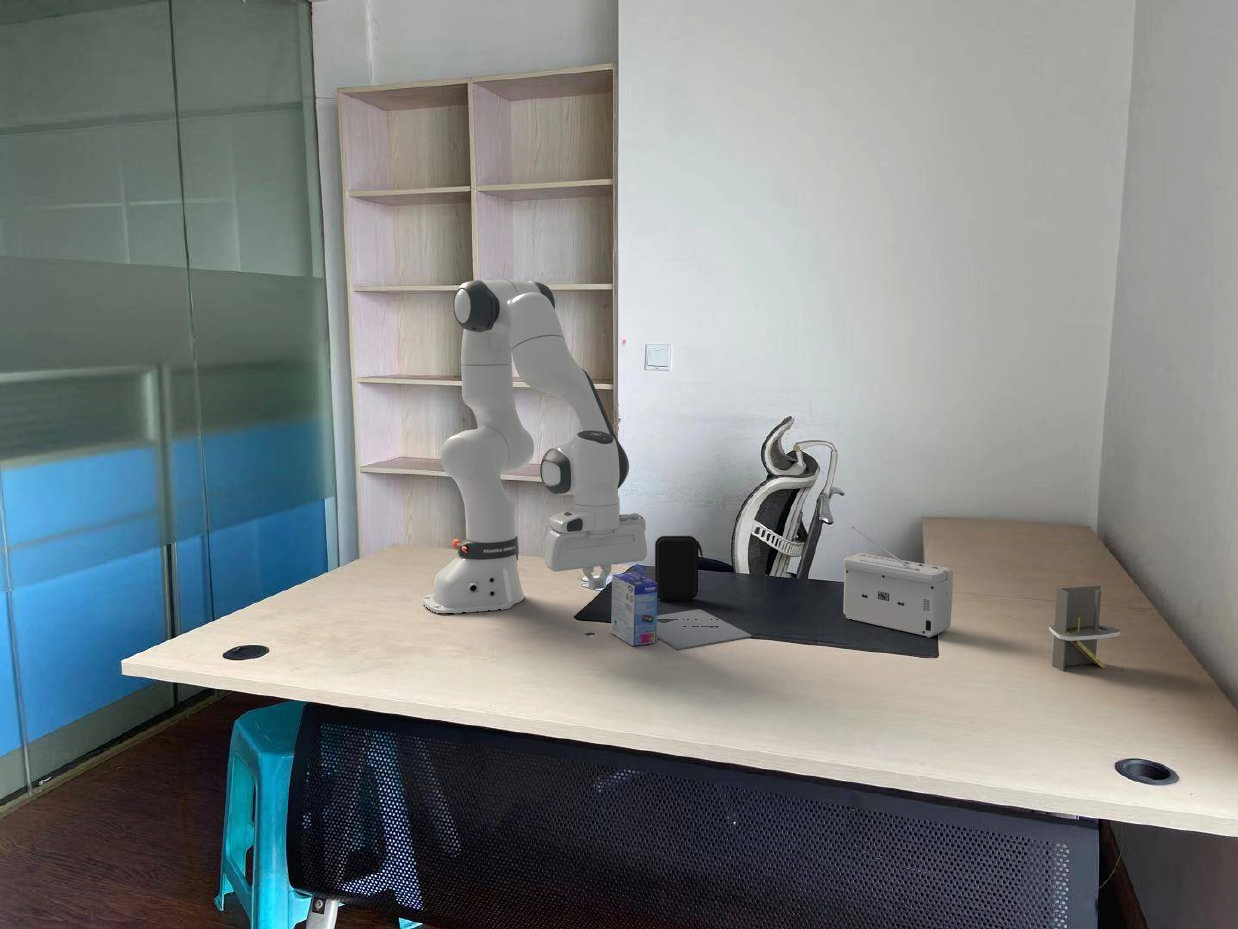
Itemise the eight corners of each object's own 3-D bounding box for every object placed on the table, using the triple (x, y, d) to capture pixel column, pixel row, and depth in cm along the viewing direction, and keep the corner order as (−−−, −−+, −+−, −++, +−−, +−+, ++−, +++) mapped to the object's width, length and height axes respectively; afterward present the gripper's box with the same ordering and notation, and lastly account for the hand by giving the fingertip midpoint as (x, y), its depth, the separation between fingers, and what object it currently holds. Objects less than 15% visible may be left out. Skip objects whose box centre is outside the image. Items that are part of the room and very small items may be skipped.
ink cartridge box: (658, 643, 181) (658, 570, 179) (633, 648, 178) (633, 574, 176) (634, 629, 190) (634, 559, 187) (610, 633, 187) (609, 562, 185)
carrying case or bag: (701, 598, 212) (702, 534, 209) (703, 601, 208) (703, 537, 206) (654, 598, 211) (654, 534, 209) (655, 602, 208) (655, 537, 206)
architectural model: (1183, 683, 160) (1190, 600, 158) (1054, 695, 155) (1059, 610, 153) (1102, 645, 179) (1107, 571, 177) (984, 656, 174) (988, 579, 172)
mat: (677, 650, 177) (677, 648, 177) (629, 621, 195) (629, 620, 194) (752, 637, 184) (752, 635, 184) (699, 610, 202) (699, 609, 202)
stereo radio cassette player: (952, 631, 187) (956, 533, 184) (934, 641, 181) (938, 540, 178) (857, 611, 201) (860, 519, 198) (838, 619, 195) (840, 525, 192)
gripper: (637, 509, 184) (637, 577, 186) (540, 519, 175) (542, 590, 177) (652, 515, 179) (652, 585, 181) (553, 525, 170) (554, 599, 172)
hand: (597, 588), depth 179 cm, fingers closed
